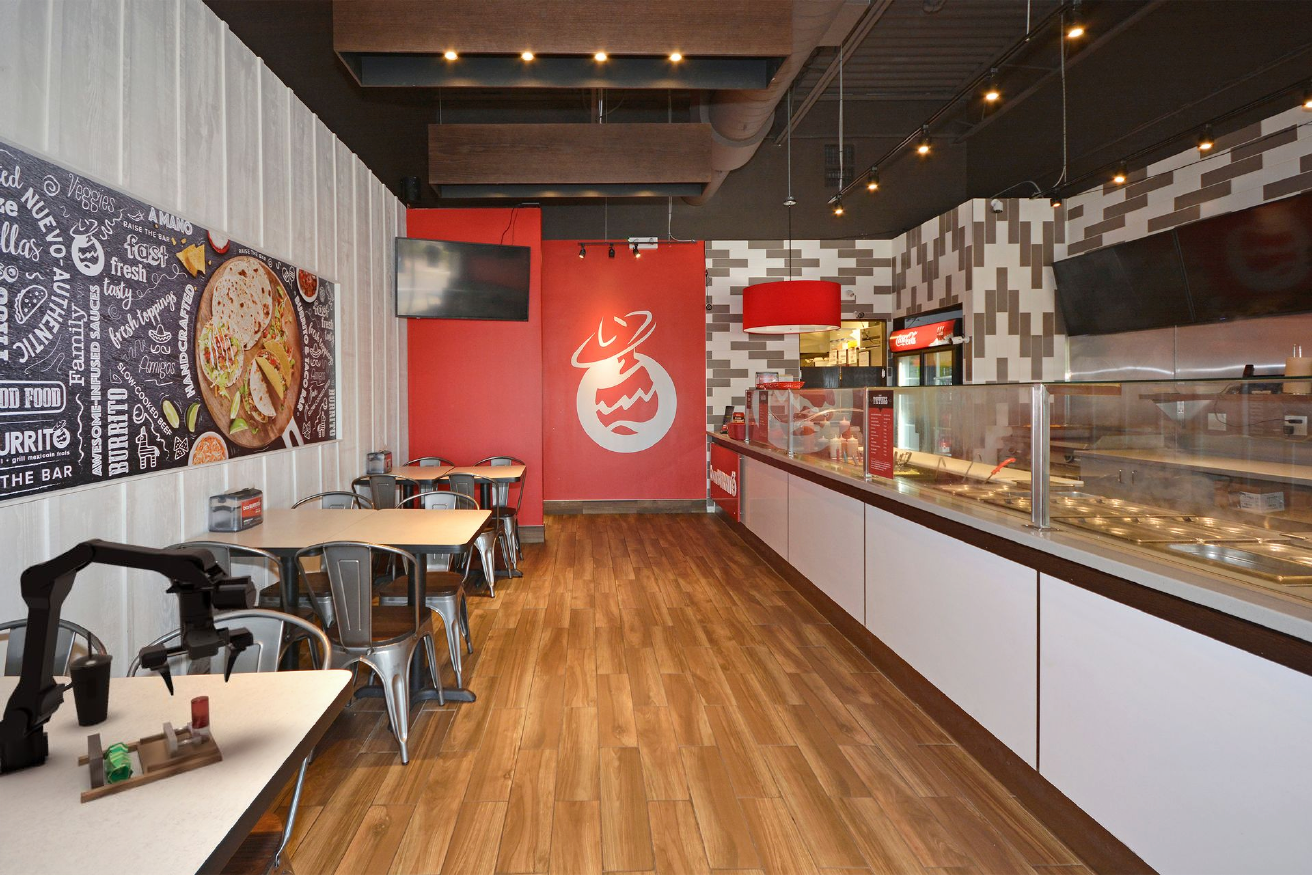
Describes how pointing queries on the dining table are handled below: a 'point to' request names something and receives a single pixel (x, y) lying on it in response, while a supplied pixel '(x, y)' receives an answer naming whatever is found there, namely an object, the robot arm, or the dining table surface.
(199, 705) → the lever
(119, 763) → the candy
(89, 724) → the drinking cup
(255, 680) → the dining table surface
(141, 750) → the wooden vise
